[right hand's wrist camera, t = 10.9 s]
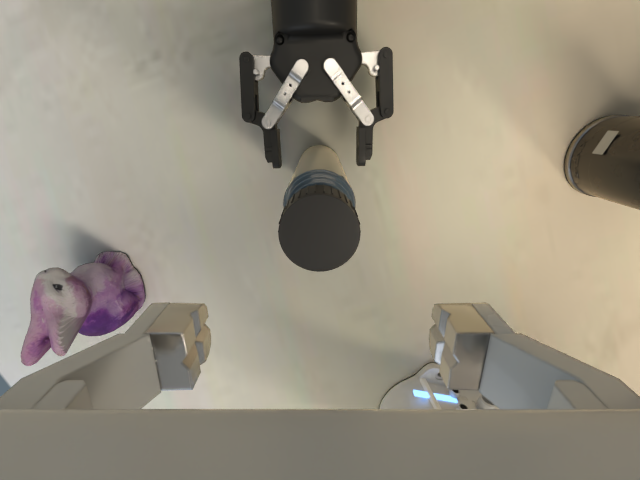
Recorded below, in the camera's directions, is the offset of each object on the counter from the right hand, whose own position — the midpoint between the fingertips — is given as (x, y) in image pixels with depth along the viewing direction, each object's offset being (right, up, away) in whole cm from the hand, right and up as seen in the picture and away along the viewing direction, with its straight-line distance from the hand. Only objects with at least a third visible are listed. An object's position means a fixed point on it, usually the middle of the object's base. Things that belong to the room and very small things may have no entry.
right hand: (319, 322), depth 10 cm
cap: (0, +3, +8) cm, 8 cm away
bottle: (0, +11, +31) cm, 33 cm away
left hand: (0, +10, +25) cm, 27 cm away
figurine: (-28, -3, +37) cm, 46 cm away
